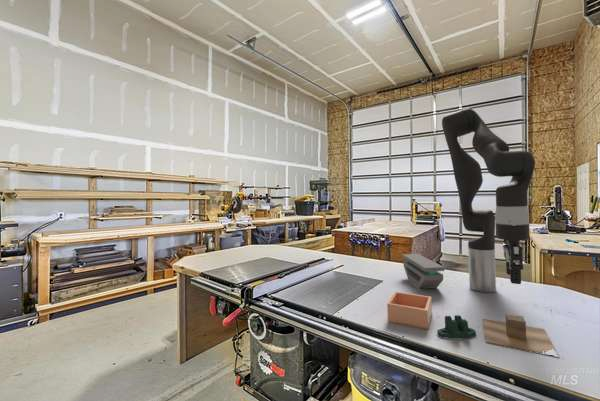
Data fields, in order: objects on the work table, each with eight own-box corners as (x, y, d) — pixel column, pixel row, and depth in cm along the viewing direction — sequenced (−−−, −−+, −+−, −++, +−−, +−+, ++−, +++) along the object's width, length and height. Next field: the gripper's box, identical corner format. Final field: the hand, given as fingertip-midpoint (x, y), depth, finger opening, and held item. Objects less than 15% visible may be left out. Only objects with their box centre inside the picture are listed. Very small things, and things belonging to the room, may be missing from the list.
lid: (482, 321, 87) (482, 303, 87) (544, 332, 79) (543, 312, 79) (485, 344, 74) (485, 323, 74) (559, 360, 66) (558, 336, 66)
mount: (442, 340, 77) (441, 322, 76) (434, 332, 81) (433, 315, 81) (480, 338, 77) (479, 320, 77) (470, 330, 81) (469, 313, 81)
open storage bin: (395, 307, 99) (395, 291, 98) (432, 314, 92) (431, 296, 92) (387, 321, 88) (387, 303, 88) (428, 329, 82) (427, 310, 82)
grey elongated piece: (445, 293, 110) (444, 267, 110) (425, 294, 110) (425, 268, 110) (418, 275, 135) (417, 253, 135) (403, 275, 135) (402, 254, 135)
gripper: (493, 219, 84) (494, 270, 84) (498, 224, 72) (499, 284, 72) (524, 219, 80) (525, 273, 80) (534, 225, 68) (536, 288, 68)
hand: (513, 278), depth 76 cm, fingers open, 8 cm apart
